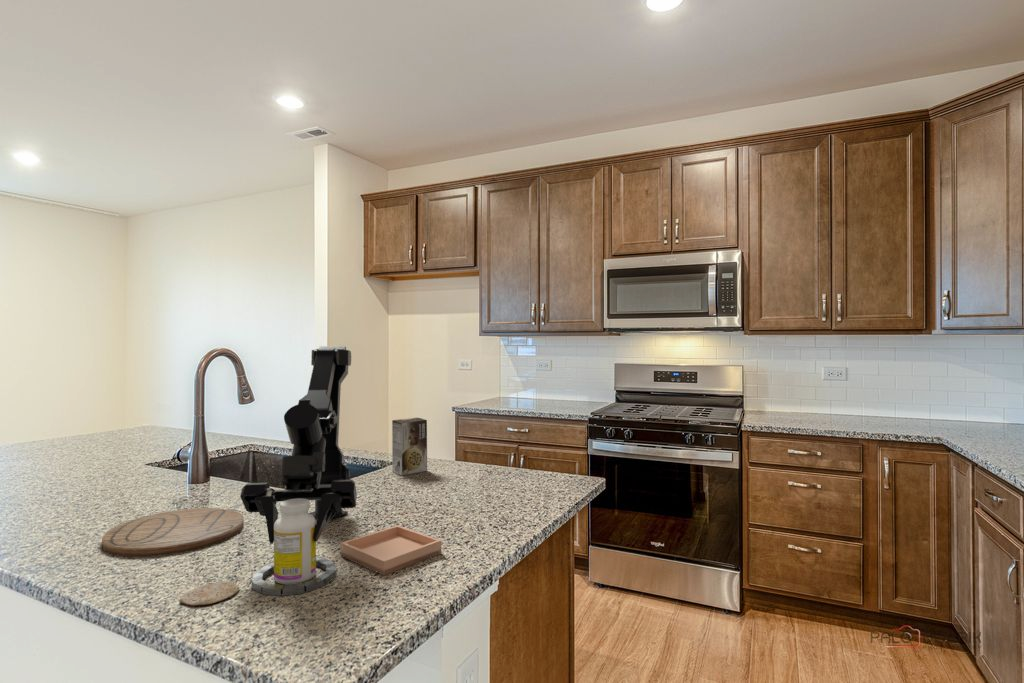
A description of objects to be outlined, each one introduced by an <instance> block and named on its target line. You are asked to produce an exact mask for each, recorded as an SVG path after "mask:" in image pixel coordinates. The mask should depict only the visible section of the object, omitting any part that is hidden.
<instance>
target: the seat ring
mask: <svg viewBox="0 0 1024 683" xmlns="http://www.w3.org/2000/svg"><path fill="white" fill-rule="evenodd" d="M317 567H318V568H320V569H322V570H323V571H324V572H323V573H321V575H319V576H318V577H315V578H311V579H310V580H308V581H305V582H302V583H298V584H291V585H284V584H275V583H270V582H267V581H266V580H264V579H265V578H267V577H268V576H269V575H271V574H274V562H271V563H268V564H266V565H264V566H263V567H261V568H260V569H258V570H256V571H255V572H254V573H253V575H252V579H251V589H253V590H254V591H256V592H257V593H259V594H260V595H261V594H262V595H267V596H268V595H269V596H278V597H285V596H291V595H297V594H298V595H300V594H305V593H308V591H309V592H311V591H314V590H316V588H317V589H319V588H322V587H324V586H325V585H324V584H326V585H328V584H329V583H330V582H331V581H332V580H333V579H334V577H335V578H336V577H337V573H336V572H337V570H336V563H335V562H334V561H333V560H330V559H327V558H325V557H319V556H316V568H317ZM331 579H332V580H331ZM330 580H331V581H330ZM329 581H330V582H329ZM328 582H329V583H328ZM323 585H324V586H323ZM321 586H322V587H321Z"/></svg>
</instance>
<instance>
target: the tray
mask: <svg viewBox="0 0 1024 683" xmlns="http://www.w3.org/2000/svg"><path fill="white" fill-rule="evenodd" d="M440 554H442V540H441V539H439V538H435V537H432V536H431V535H430V536H429V535H427V534H424V533H422V532H418V531H415V530H413V529H409V528H407V527H405V526H401V525H394V526H392V527H388V528H384V529H382V530H379V531H375V532H372V533H368V534H366V535H362V536H359V537H356V538H353V539H349V540H346V541H343V542H340V556H341V557H342V556H343V558H344V557H346V558H345V559H347V558H348V559H347V560H349V559H350V560H349V561H351V560H352V561H351V562H353V561H354V563H355V562H357V563H356V564H358V563H359V564H358V565H360V564H361V565H360V566H362V565H363V567H364V566H365V567H364V568H367V567H368V568H367V569H369V568H370V569H369V570H371V569H372V570H371V571H373V570H374V571H373V572H375V571H377V572H376V573H378V572H379V573H378V574H379V575H382V574H383V576H386V575H389V574H391V573H394V572H397V571H399V570H401V569H404V568H406V567H410V566H412V565H414V564H417V563H420V562H422V561H425V560H427V559H430V558H433V557H435V556H437V555H440Z"/></svg>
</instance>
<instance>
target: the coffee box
mask: <svg viewBox="0 0 1024 683" xmlns="http://www.w3.org/2000/svg"><path fill="white" fill-rule="evenodd" d="M391 420H392V424H391V425H392V426H391V427H392V429H391V430H392V433H391V434H392V438H391V439H392V441H391V442H392V445H391V447H392V448H391V449H392V450H391V452H392V467H391V470H392V473H395V474H397V475H400V476H406V475H411V474H417V473H422V472H427V471H428V422H427V421H428V420H427V419H424V418H422V417H412V418H411V417H410V418H409V417H408V418H400V419H394V420H393V419H391Z"/></svg>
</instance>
